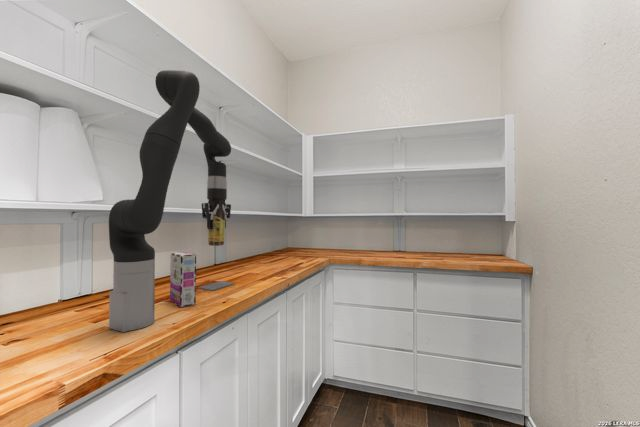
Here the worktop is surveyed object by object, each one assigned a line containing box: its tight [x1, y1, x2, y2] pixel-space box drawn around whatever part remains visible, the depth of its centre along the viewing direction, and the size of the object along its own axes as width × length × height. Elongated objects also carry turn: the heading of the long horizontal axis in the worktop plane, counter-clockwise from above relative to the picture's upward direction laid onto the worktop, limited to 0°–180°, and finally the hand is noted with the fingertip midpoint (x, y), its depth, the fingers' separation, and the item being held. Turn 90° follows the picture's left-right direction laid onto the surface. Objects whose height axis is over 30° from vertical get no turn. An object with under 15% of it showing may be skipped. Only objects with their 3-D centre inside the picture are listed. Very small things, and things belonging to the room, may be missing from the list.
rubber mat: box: [197, 280, 235, 292], centre depth 117 cm, size 12×8×1 cm, turn 155°
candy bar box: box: [169, 251, 197, 308], centre depth 95 cm, size 11×5×16 cm, turn 44°
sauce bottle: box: [207, 199, 226, 247], centre depth 117 cm, size 6×6×20 cm
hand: (216, 228), depth 117 cm, fingers closed on sauce bottle, 6 cm apart
